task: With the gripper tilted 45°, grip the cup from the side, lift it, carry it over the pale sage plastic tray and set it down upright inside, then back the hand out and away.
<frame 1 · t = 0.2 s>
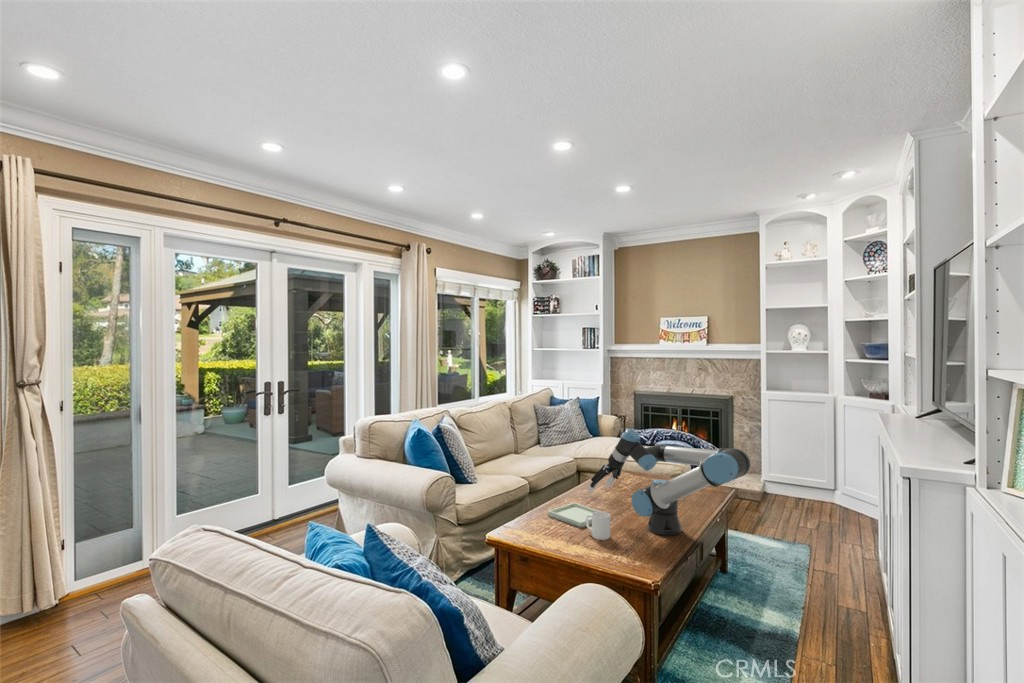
hand: (598, 488, 253), 16 cm above the table, tool tilted 35°, fingers open, 13 cm apart
cup: (597, 536, 233), on the table
sage tray: (577, 517, 257), on the table
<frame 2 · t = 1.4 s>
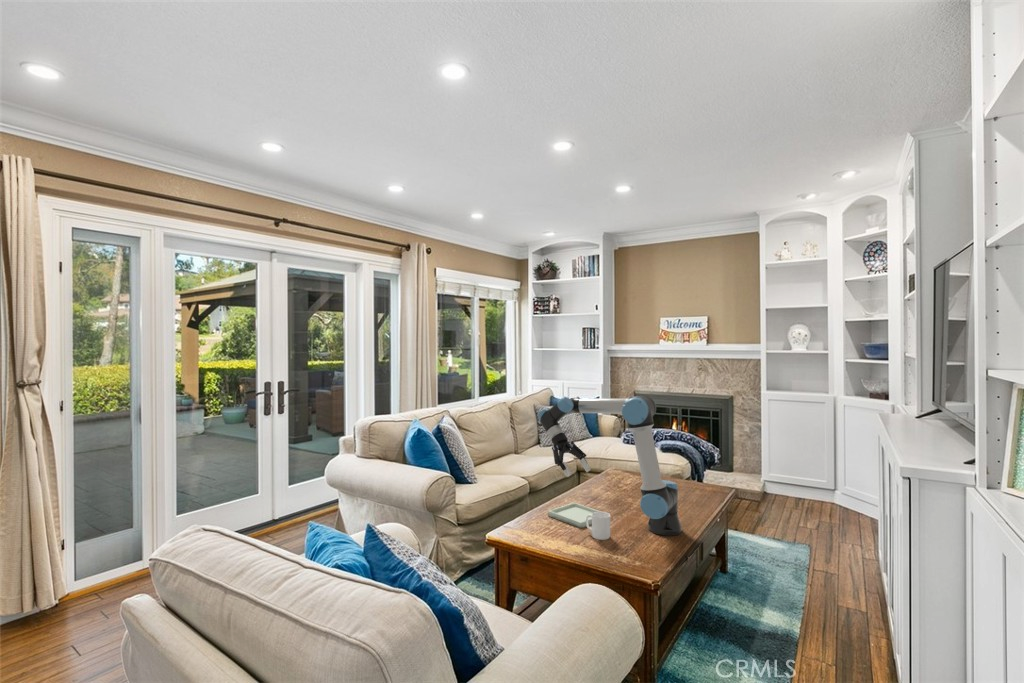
hand: (579, 473, 242), 26 cm above the table, tool tilted 45°, fingers open, 13 cm apart
nothing on the table moved.
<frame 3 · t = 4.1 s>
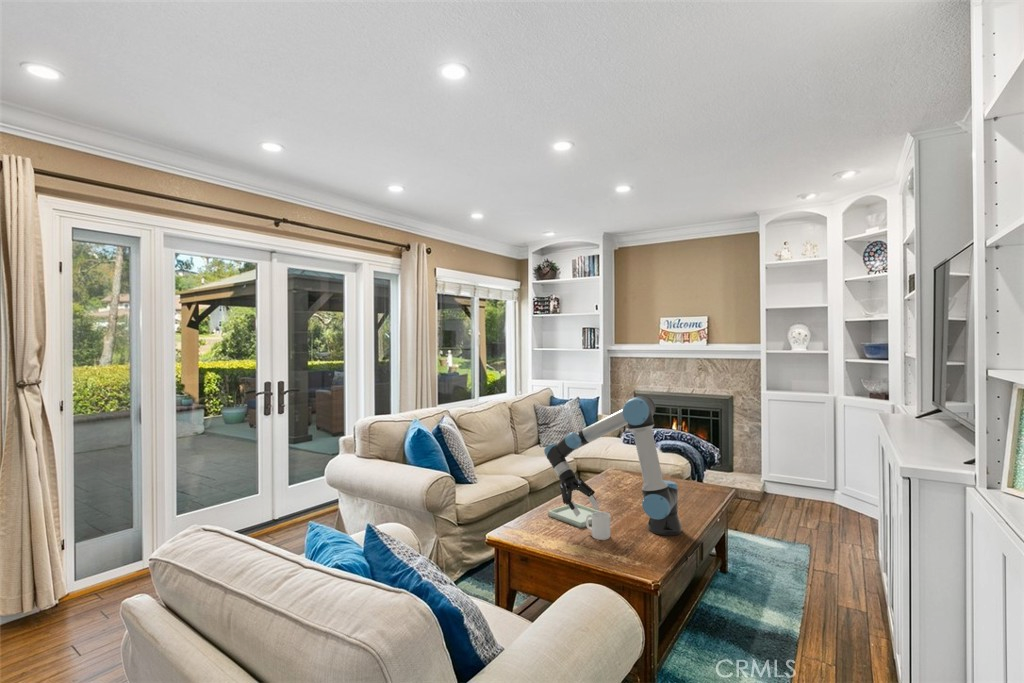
hand: (588, 511, 237), 10 cm above the table, tool tilted 45°, fingers open, 13 cm apart
nothing on the table moved.
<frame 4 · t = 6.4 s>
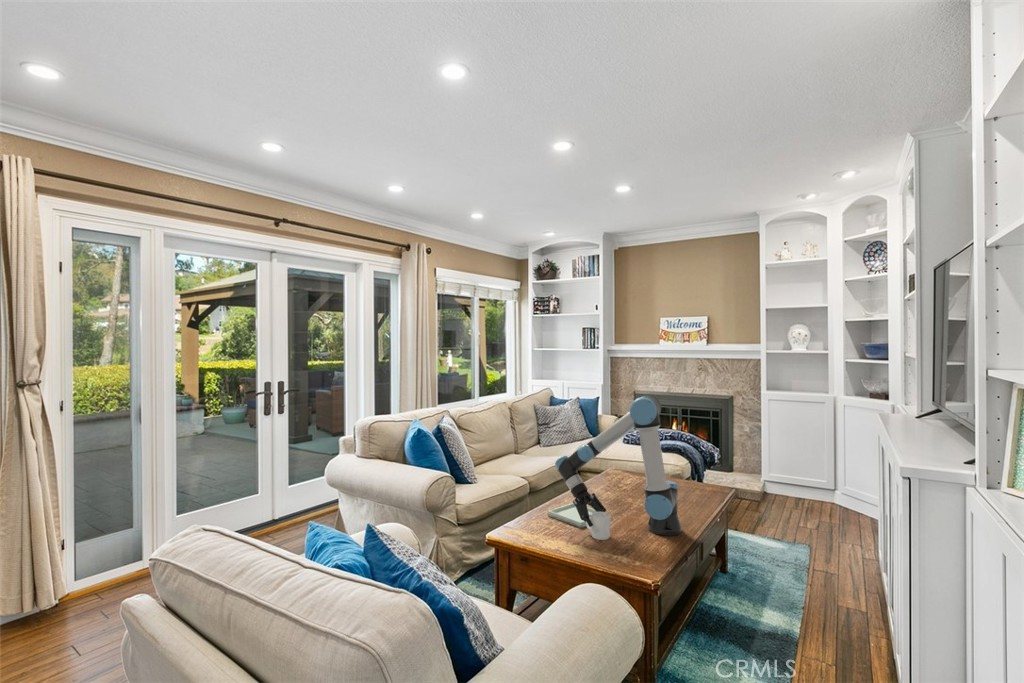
hand: (603, 529, 231), 4 cm above the table, tool tilted 45°, fingers closed on cup, 8 cm apart
cup: (596, 536, 233), on the table, touching gripper
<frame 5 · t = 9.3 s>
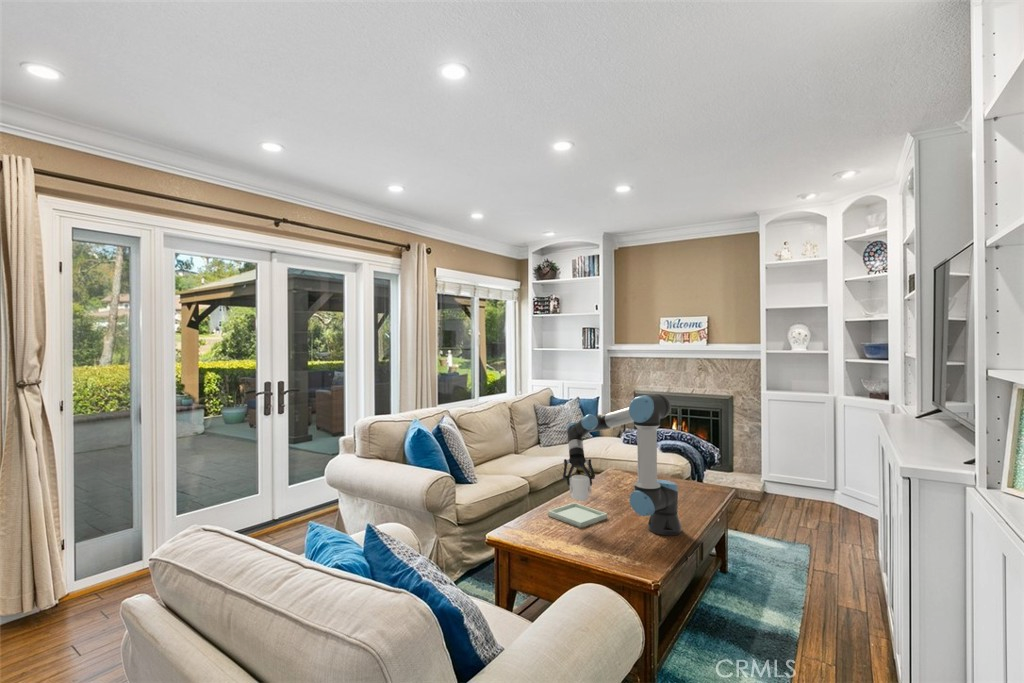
hand: (580, 491, 244), 17 cm above the table, tool tilted 45°, fingers closed on cup, 8 cm apart
cup: (578, 497, 248), point 13 cm above the table, touching gripper
when the fingers open (6 cm above the table, at t = 12.5 s): cup drops 1 cm, resting on sage tray.
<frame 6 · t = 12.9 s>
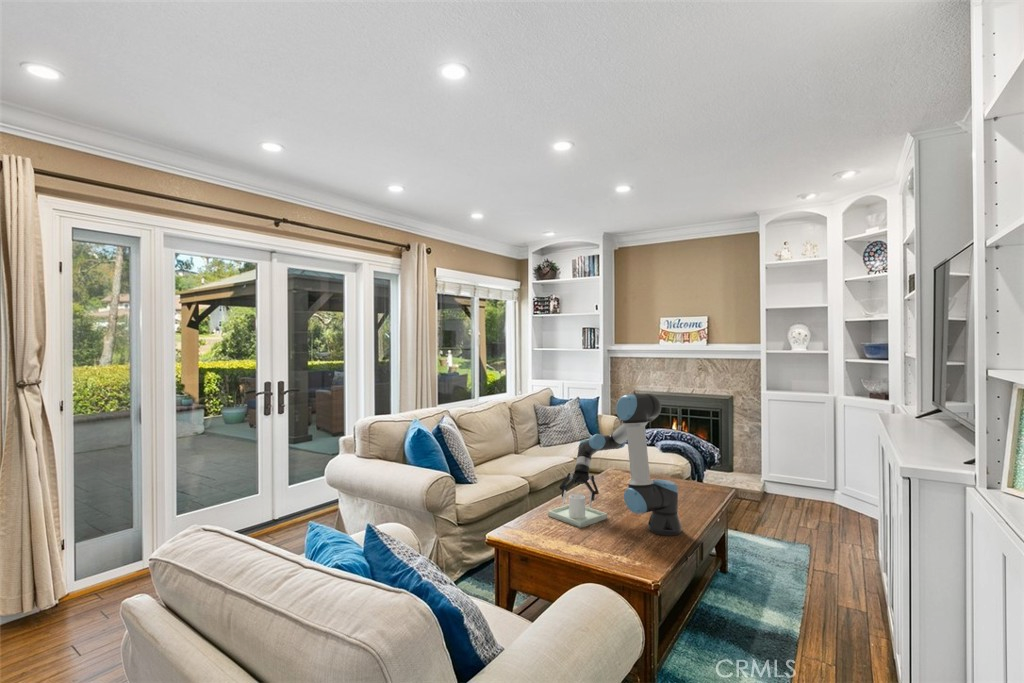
hand: (576, 504, 255), 7 cm above the table, tool tilted 45°, fingers open, 13 cm apart
cup: (576, 515, 257), point 1 cm above the table, touching sage tray
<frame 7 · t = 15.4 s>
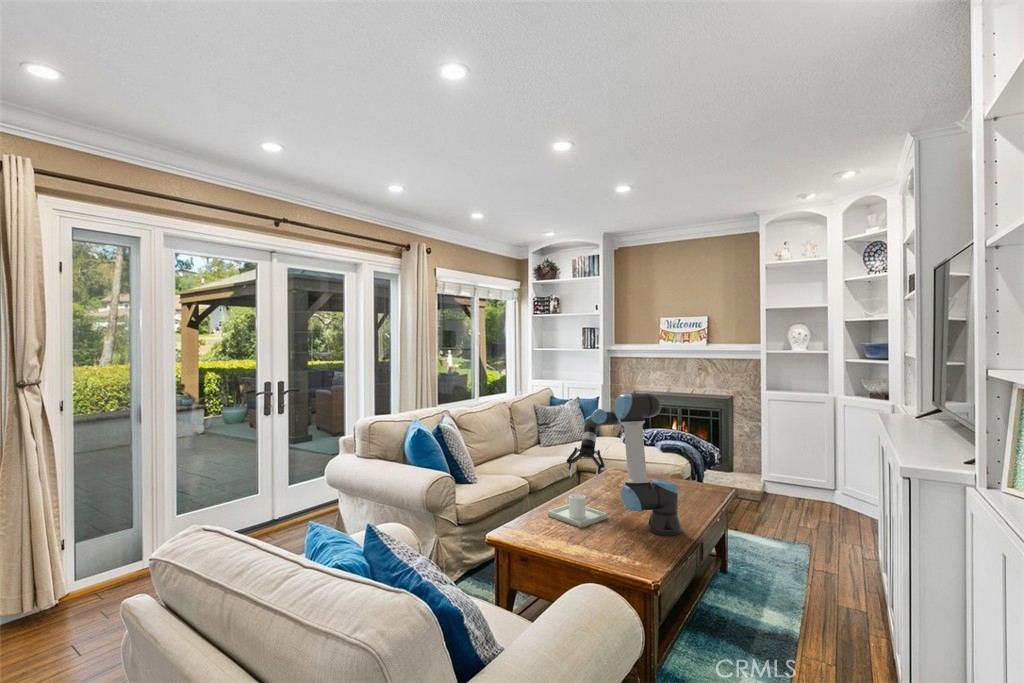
hand: (583, 476, 267), 17 cm above the table, tool tilted 45°, fingers open, 13 cm apart
nothing on the table moved.
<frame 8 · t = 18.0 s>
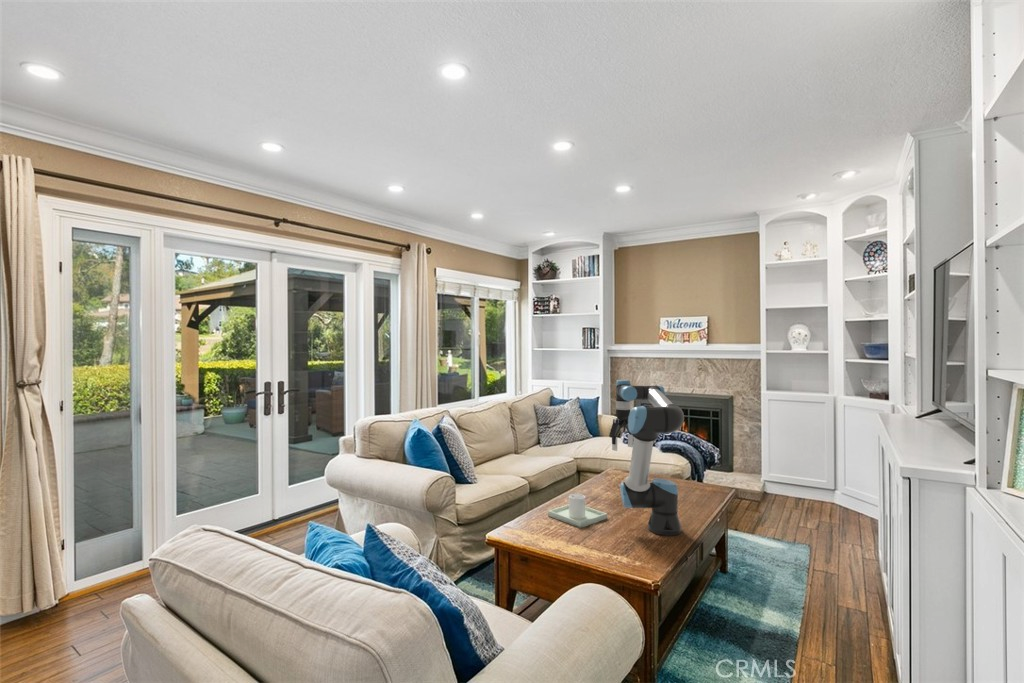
hand: (622, 448, 271), 32 cm above the table, tool pointing down, fingers open, 13 cm apart
nothing on the table moved.
at the end: cup inside the target area on the sage tray (0.1 cm from its centre), point 0.8 cm above the sage tray's base; cup tilted 0°; the gripper is holding nothing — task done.
